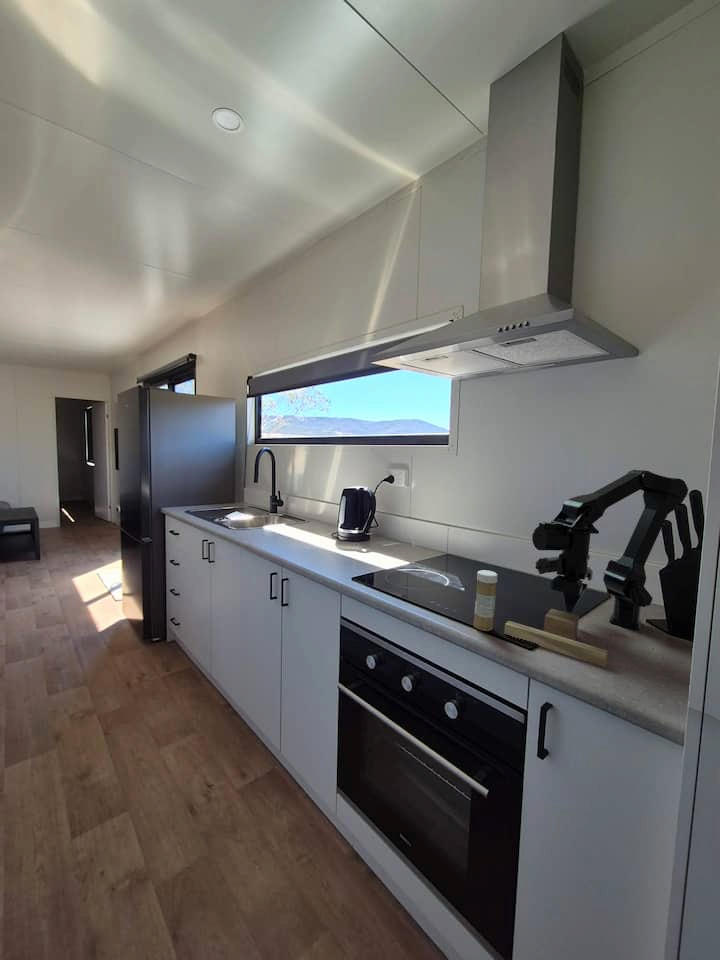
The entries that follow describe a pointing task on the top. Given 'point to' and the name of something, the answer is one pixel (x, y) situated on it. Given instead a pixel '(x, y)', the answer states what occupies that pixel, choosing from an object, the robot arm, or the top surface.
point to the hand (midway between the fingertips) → (569, 612)
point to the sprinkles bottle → (485, 600)
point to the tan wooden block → (561, 624)
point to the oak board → (557, 643)
